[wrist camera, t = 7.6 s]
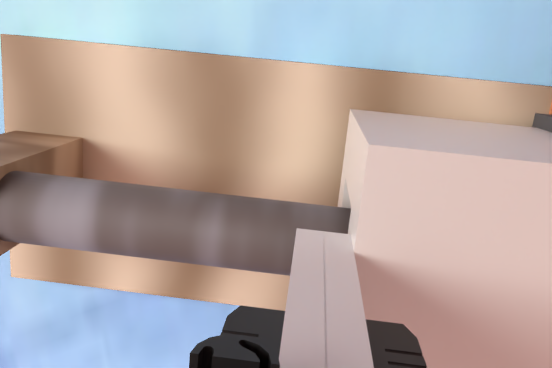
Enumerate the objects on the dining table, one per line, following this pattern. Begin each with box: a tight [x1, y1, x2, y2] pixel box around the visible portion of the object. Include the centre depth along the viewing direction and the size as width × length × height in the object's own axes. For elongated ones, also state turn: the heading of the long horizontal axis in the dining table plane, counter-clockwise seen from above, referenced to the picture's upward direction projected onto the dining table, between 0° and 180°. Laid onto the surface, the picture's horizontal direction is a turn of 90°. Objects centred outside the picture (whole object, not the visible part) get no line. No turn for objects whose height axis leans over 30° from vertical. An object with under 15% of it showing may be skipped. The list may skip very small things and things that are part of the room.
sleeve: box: [338, 109, 552, 368], centre depth 16 cm, size 7×8×8 cm
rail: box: [0, 34, 552, 311], centre depth 19 cm, size 30×11×8 cm, turn 85°
